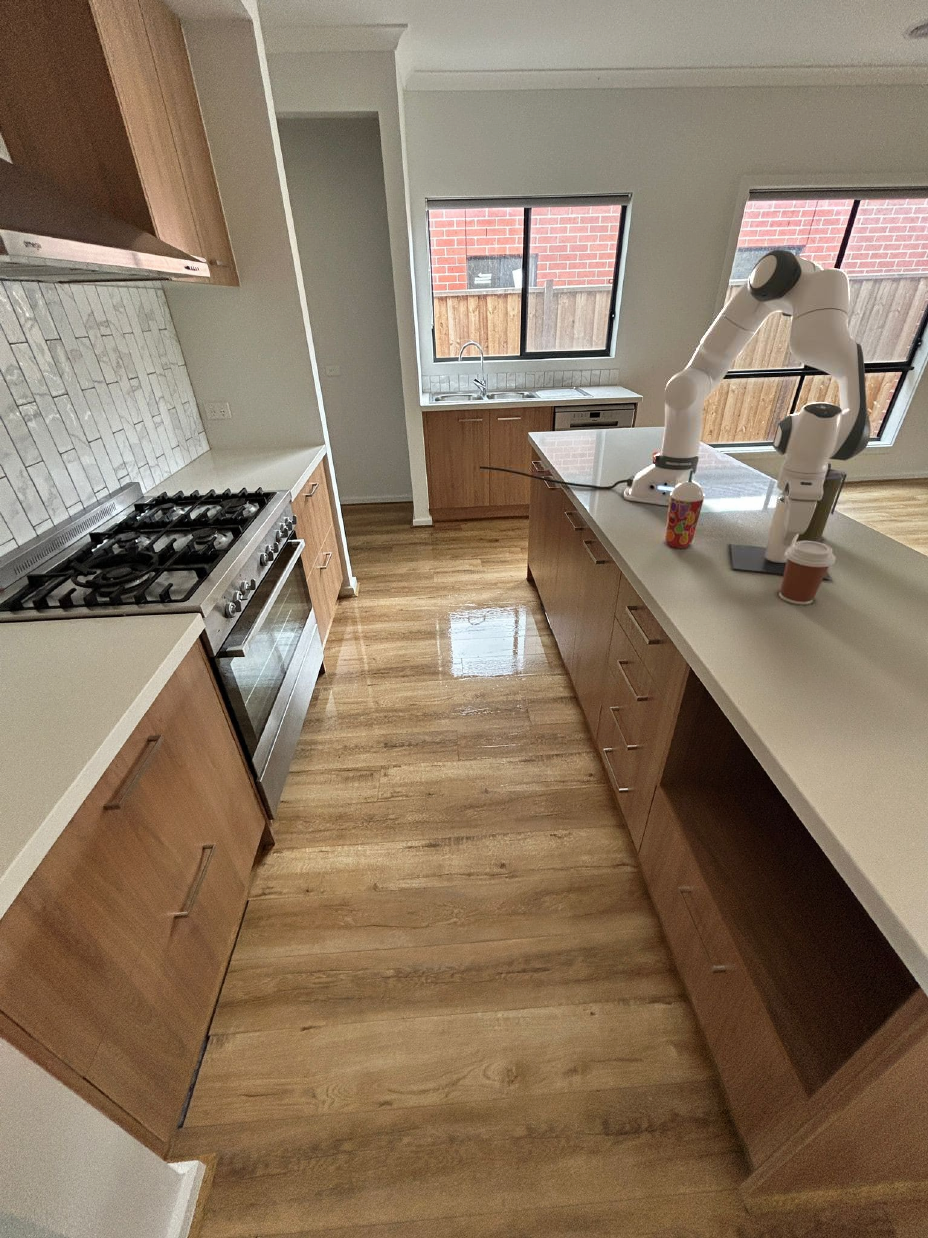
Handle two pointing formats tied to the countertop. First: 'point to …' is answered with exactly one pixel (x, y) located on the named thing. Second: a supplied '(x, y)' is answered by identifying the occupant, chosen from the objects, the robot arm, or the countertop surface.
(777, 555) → the white tapered cylinder
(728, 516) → the countertop surface
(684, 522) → the smoothie
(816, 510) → the canister
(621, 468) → the countertop surface
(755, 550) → the place mat
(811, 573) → the coffee cup
